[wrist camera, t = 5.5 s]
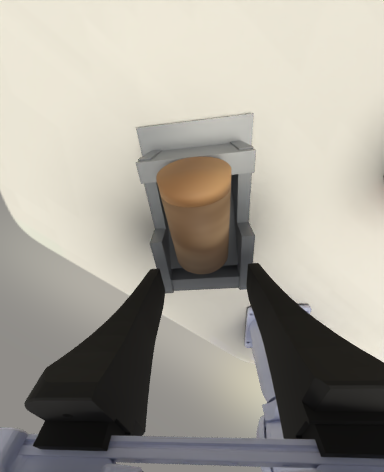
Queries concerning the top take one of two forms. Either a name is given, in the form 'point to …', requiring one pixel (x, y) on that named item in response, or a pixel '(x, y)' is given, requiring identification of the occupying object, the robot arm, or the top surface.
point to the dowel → (197, 211)
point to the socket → (242, 166)
